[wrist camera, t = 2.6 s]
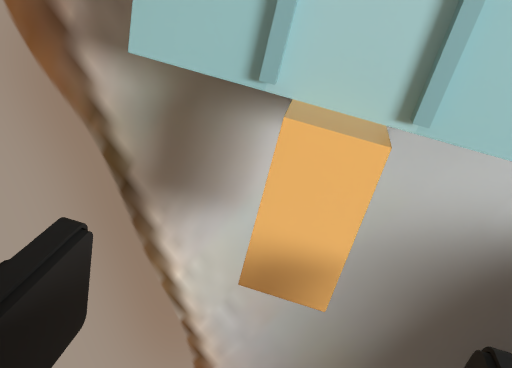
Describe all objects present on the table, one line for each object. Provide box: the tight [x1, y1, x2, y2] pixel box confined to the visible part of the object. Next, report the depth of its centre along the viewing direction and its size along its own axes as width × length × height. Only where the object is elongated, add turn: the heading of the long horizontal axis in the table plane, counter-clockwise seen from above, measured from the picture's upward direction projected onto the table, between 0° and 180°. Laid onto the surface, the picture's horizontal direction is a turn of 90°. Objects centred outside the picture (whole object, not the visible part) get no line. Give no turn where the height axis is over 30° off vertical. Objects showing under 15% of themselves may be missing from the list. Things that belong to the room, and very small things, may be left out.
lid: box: [128, 0, 512, 312], centre depth 12 cm, size 14×16×3 cm
